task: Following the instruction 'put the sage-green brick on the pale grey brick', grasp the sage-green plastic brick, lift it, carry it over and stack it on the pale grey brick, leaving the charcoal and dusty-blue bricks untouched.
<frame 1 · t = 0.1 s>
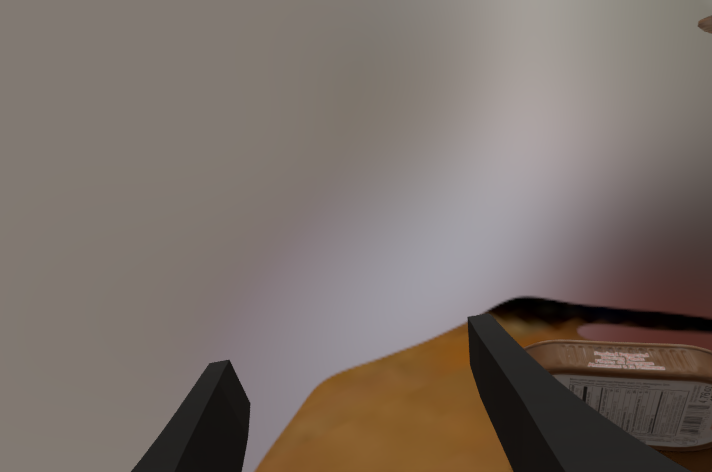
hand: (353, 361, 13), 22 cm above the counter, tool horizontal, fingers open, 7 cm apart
tin: (610, 437, 31), on the counter
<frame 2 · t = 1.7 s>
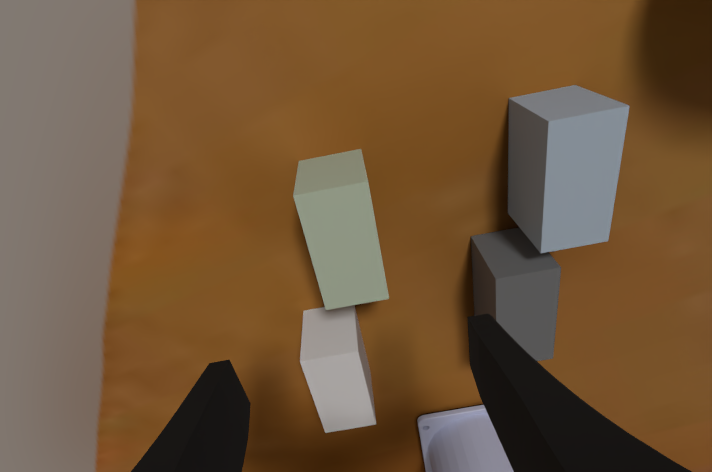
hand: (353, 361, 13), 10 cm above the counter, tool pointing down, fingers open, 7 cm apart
sage brick: (342, 209, 21), on the counter
blue brick: (537, 153, 20), on the counter
grey brick: (338, 341, 26), on the counter
charcoal brick: (497, 274, 24), on the counter
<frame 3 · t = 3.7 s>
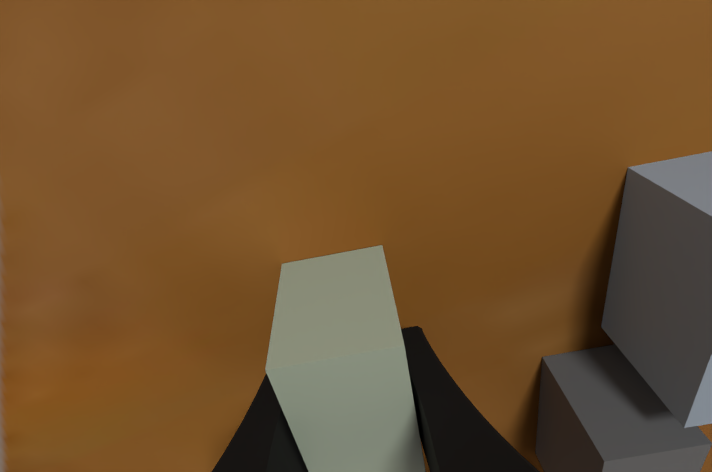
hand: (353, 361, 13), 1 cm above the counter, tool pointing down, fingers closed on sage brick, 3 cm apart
sage brick: (350, 328, 14), on the counter, touching gripper
blue brick: (659, 245, 13), on the counter
charcoal brick: (574, 400, 17), on the counter
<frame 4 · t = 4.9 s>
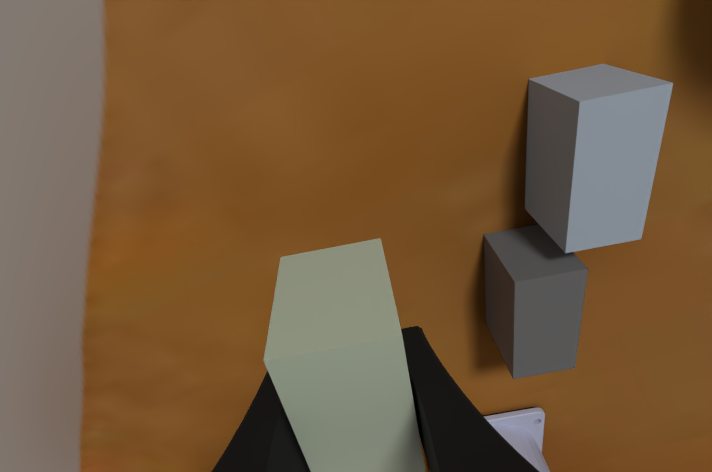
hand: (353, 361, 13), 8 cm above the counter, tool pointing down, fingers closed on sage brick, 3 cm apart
sage brick: (349, 322, 14), point 7 cm above the counter, touching gripper
blue brick: (559, 141, 18), on the counter
charcoal brick: (512, 275, 22), on the counter
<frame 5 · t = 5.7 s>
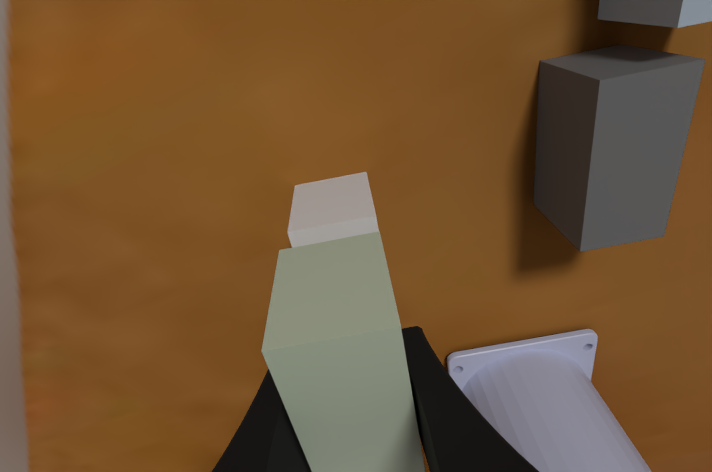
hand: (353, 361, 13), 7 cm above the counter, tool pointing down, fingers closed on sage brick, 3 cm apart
sage brick: (348, 316, 14), point 5 cm above the counter, touching gripper
grey brick: (344, 238, 19), on the counter
charcoal brick: (572, 131, 17), on the counter
when the fingers open (7 cm above the counter, at t = 6.4 s): sage brick drops 1 cm, resting on grey brick.
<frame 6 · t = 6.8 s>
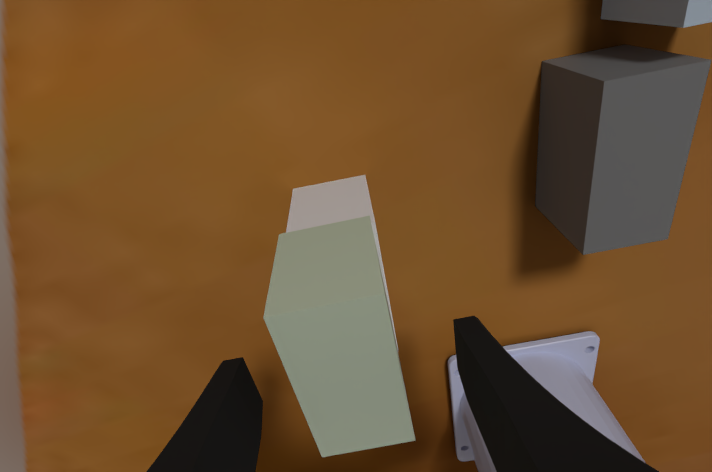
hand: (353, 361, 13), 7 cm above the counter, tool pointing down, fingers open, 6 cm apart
sage brick: (343, 295, 15), point 4 cm above the counter, touching grey brick
grey brick: (343, 242, 19), on the counter, touching sage brick
charcoal brick: (574, 132, 17), on the counter
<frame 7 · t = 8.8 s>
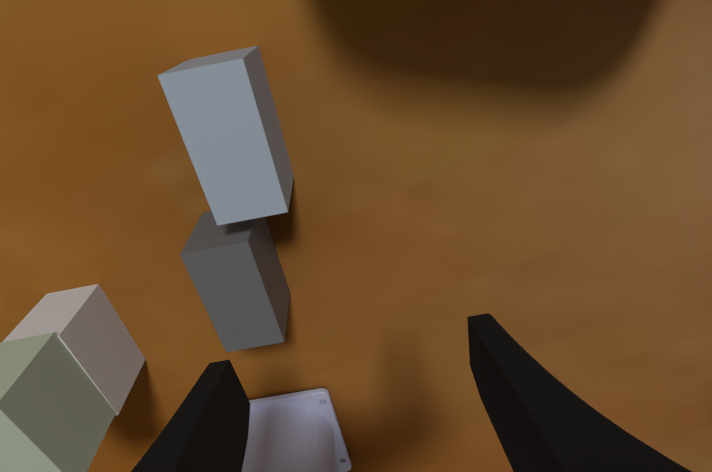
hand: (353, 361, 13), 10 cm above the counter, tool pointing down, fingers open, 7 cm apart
sage brick: (59, 380, 21), point 4 cm above the counter, touching grey brick
blue brick: (246, 121, 19), on the counter
grey brick: (99, 328, 25), on the counter, touching sage brick
charcoal brick: (249, 254, 23), on the counter
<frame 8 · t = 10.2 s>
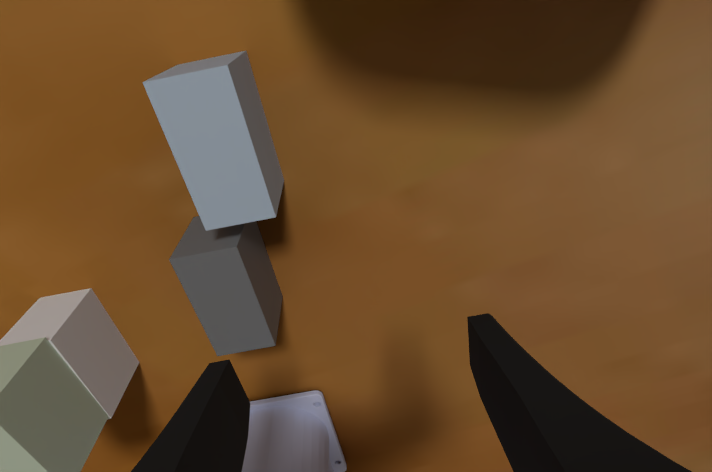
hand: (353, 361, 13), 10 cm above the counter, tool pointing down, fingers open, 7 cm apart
sage brick: (51, 384, 21), point 4 cm above the counter, touching grey brick
blue brick: (235, 126, 19), on the counter
grey brick: (92, 331, 25), on the counter, touching sage brick
charcoal brick: (241, 258, 23), on the counter
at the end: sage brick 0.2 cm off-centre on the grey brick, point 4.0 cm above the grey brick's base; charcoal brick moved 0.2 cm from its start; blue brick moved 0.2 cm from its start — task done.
